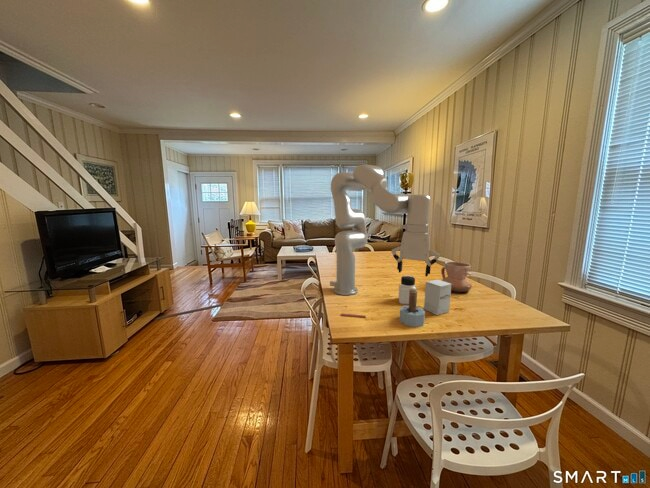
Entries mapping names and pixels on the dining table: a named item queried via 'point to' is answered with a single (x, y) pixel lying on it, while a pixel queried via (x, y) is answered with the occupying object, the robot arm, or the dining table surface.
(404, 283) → the medicine bottle
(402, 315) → the bead
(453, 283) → the ceramic jug
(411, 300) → the needle
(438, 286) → the supplement box
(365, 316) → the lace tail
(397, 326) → the dining table surface
